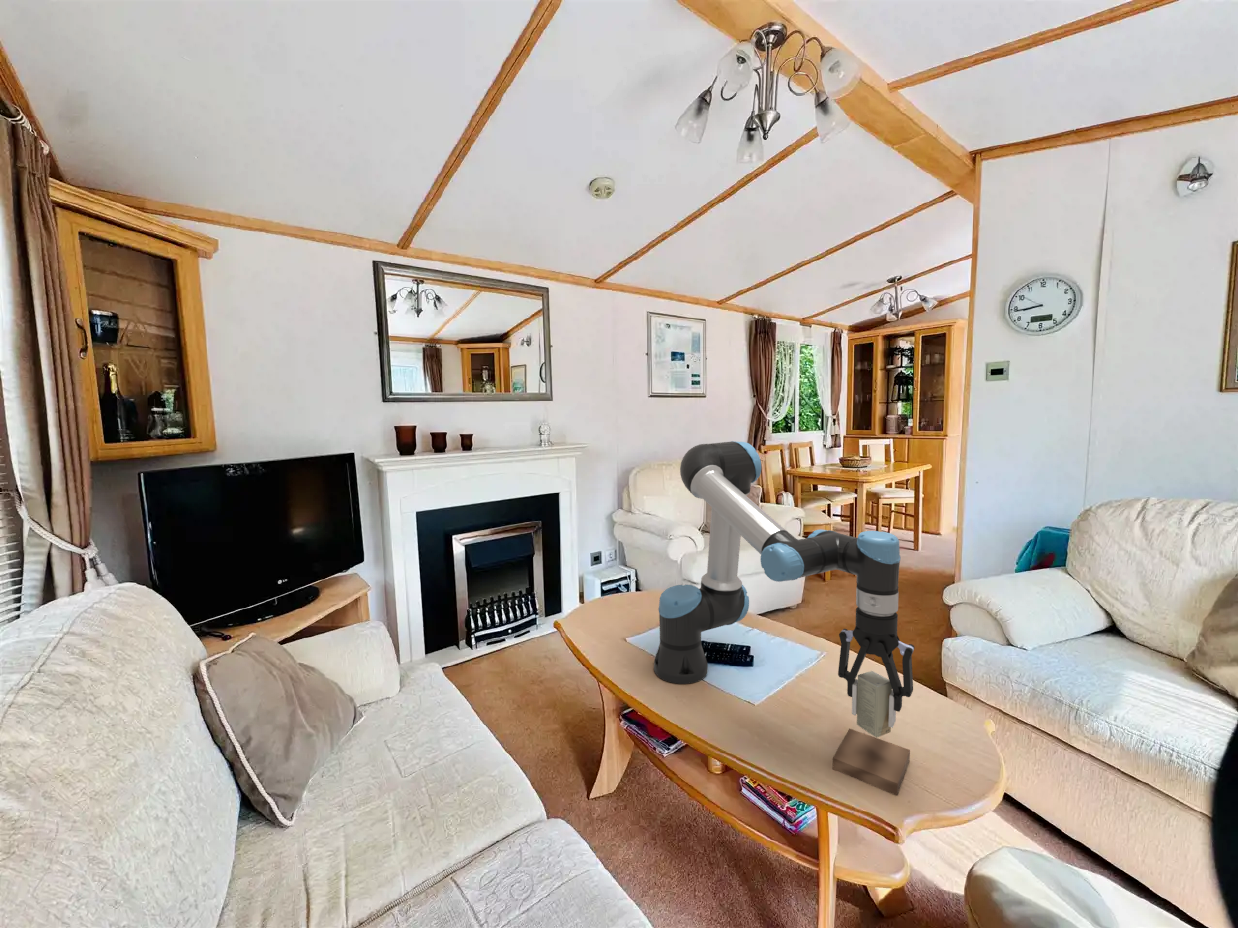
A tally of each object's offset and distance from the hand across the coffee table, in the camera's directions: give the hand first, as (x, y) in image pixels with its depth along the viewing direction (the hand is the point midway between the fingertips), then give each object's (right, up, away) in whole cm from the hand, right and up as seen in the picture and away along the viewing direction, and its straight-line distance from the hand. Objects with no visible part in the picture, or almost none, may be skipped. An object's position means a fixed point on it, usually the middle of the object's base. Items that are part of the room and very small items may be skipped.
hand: (873, 717), depth 106 cm
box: (0, -3, +1) cm, 3 cm away
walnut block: (0, -11, +2) cm, 11 cm away
